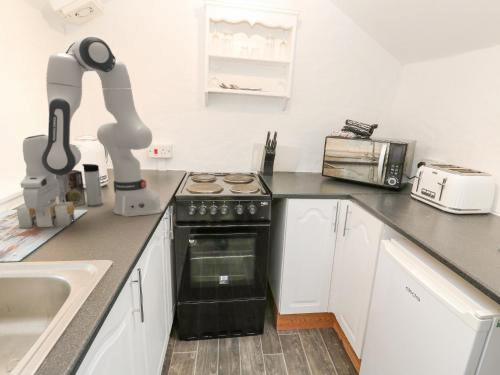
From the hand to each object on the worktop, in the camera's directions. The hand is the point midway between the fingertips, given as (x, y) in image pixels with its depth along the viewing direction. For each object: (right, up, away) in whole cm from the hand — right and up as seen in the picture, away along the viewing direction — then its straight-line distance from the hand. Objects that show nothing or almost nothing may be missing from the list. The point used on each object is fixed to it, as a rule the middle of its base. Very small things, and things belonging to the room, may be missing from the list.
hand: (46, 212), depth 115 cm
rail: (0, -5, +1) cm, 5 cm away
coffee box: (-5, +1, +25) cm, 25 cm away
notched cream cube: (0, -5, +1) cm, 5 cm away
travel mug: (+5, +1, +26) cm, 26 cm away
